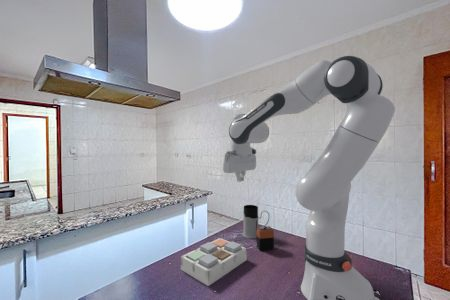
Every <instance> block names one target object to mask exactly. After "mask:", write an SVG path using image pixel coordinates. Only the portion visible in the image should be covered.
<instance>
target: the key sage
mask: <svg viewBox="0 0 450 300" xmlns="http://www.w3.org/2000/svg"><path fill="white" fill-rule="evenodd" d="M203 256H205V254H203V253H200V252H198V251H194V252H192V253H190V254H188V255H186V257H187V258H189V259H190V260H192V261H194V262H195V261H197V260H198V259H199V258H201V257H203Z"/></svg>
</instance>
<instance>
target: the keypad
mask: <svg viewBox="0 0 450 300" xmlns="http://www.w3.org/2000/svg"><path fill="white" fill-rule="evenodd" d="M219 239H221V240H224V241H226V242H228V244H226V245H224V247H222V248H219V247H217V245H215V244H213V242H215V241H217V240H219ZM247 248H248V247H245V246H242V244H240V243H238V242H235V241H233V240H232V241H228V240H227V239H224V238H221V237H219V238H216V239H214V240H213V241H211V242H210V241H208V242H205V243H203V244H201V245H199V247H198V248H196V249H194V250H192V251H189V252H187V253H185V254H183V255H181V256H180V270H181V271H183V272H184V273H186V274H187V275H189V276H190V277H192V278H194V279H196V280H197V281H199V282H200V283H202V284H203V285H205V286H207V287H210V286H211V285H212V284H214V283H215V282H217V281H218V280H219V279H222V278H223V277H224V276H225V275H227V274H229V273H230V272H231V271H232V270H234V269H235V268H237V267H238V266H240V265H241V264H243V263H244V262H246V261H247V257H248V256H247V255H248V254H247V252H248V251H247ZM219 250H223V251H225V252H228V253H230V256H229V257H227V258H226V259H224V260H222V261H221V260H219V259H218V258H217V257H215V256H213V255H212V254H214V253H216V252H217V251H219ZM194 251H198V252H200V253H203V254H205V256H203V257H201V258H199V259H198V260H197V261H195V262H194V261H192V260H190V259H189V258H187V257H186V255H188V254H190V253H192V252H194Z"/></svg>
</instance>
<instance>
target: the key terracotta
mask: <svg viewBox="0 0 450 300" xmlns="http://www.w3.org/2000/svg"><path fill="white" fill-rule="evenodd" d="M218 239H219V238H218ZM221 239H222V238H221ZM221 239H219V240H217V239H216V240H217V241H215V240H214V241H215V242H213V244H215V245H217V247H219V248H222V247H224V245H226V244H228V242H226V241H227V240H226V241H224V240H225V239H224V240H221Z"/></svg>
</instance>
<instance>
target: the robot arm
mask: <svg viewBox="0 0 450 300" xmlns="http://www.w3.org/2000/svg"><path fill="white" fill-rule="evenodd" d="M383 84H384V83H383V80H382V78H381V76H380V75H379V74H378V73H377V72H376V70H375V69H374V67H373V66H372V65H370V64H369V63H367V62H366V61H365V60H364V59H362V58H360V57H358V56H354V55H344V56H341V57H338V58H336V59H335V60H333V61H329V60H326V59H325V60H319V61H318V62H316V63H314V64H313V65H311V66H310V67H308V68H307V69H305V70H304V71H303V72H302V73H300V74H299V75H298V76H297V77H295V78H294V79H292V81H291V82H290V83H289V84H287V85H286V86H284V87H283V88H282V89H281V90H279V91H277V92H275V93H274V94H272V95H270V96H269V97H267V98H266V99H264V100H263V101H261V102H260V103H259V104H258V105H256V106H255V107H253V108H252V109H251V110H249V112H247V113H239V114H235V115H234V116H233V117H232V118H231V121H230V125H229V127H228V135H229V137H230V139H231V141H230V150H228V151H226V153H225V154H224V158H223V165H222V166H223V167H222V171H223V173H226V174H233V173H234V174H235V176H236V181H237V182H244V181H245V175H246V173H247V171H253V170H254V171H255V169H256V167H257V156H256V155H257V149H256V148H254V147H252V146H251V144H262V143H265V142H266V141H267V140H268V139H269V135H270V129H269V126H268V124H267V123H266V122H267V121H268V120H269V119H271V118H274V117H276V116H277V117H278V116H282V115H296V114H300V113H302V112H305V111H307V110H309V109H310V108H312V107H313V106H314V105H316V104H317V103H318V102H319V101H321V100H322V99H323V98H325V97H327V96H329V95H332V96H333V97H334V98H336V99H337V100H339V102H340V103H342V104H345V105H346V112H345V115H344V117H343V119H342V120H341V122H340V124H339V125H338V127H337V129H336V130H335V132H334V134H333V136H332V137H331V138H330V141H329V143H328V144H327V146H326V147H325V149H324V150H323V152H322V153H321V154H320V156H319V157H318V158H317V159H316V160H315V161H314V163H313V164H312V166H311V167H310V169H309V170H308V172H306V173H305V175H304V176H303V177H302V178H301V179H300V180H299V181H298V182H297V184H296V185H295V198H296V199H297V201H298V203H299V204H300V205H301V207H302V208H304V209H306V210H309V211H310V212H309V214H308V217H307V219H306V222H305V223H306V225H305V226H306V227H305V233H306V234H305V235H306V237H305V239H306V240H305V245H304V254H303V257H304V262H305V264H304V265H305V266H304V273H303V277H302V283H301V284H300V291H301V294H302V295H303V296H304V297H305V298H306V300H380V298H379V297H377V296H375V293H374V289H373V286H372V284H371V283H370V281H369V280H368V279H367V278H366V277H364V276H363V275H362V274H361V273H360V272H359V271H358V270H357V269H355V267H354V266H353V254H350V255H348V253H347V252H346V250H345V240H346V239H345V234H346V233H345V230H346V229H345V228H346V222H347V215H348V209H349V201H350V194H351V189H352V184H351V182H352V181H353V180H354V178H355V177H356V176H357V175H358V174H359V173H360V171H361V170H362V169H363V168H364V167H365V165H366V164H367V162H368V160H369V159H370V157H371V156H372V154H373V153H374V152H375V150H376V148H377V147H378V146H379V144H380V142H381V140H382V139H383V138H384V136H385V134H386V132H387V130H388V128H389V126H390V124H391V123H392V122H391V121H392V120H393V117H394V113H395V112H396V107H395V104H394V103H393V102H392V101H391V100H390V99H389V98H388V97H385V96H384V95H381V93H382V91H383Z"/></svg>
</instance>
